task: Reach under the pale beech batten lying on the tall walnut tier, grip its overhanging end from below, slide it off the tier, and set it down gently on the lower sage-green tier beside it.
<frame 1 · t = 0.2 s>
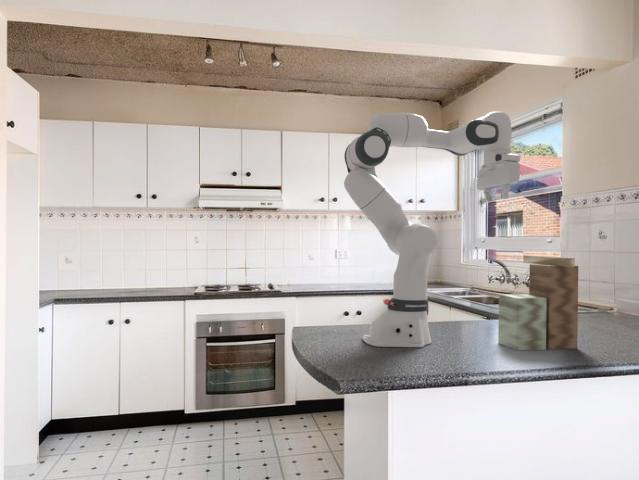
hand: (496, 200, 156), 48 cm above the counter, tool pointing down, fingers open, 8 cm apart
stand: (537, 345, 146), on the counter
batten: (547, 264, 150), point 26 cm above the counter, touching stand
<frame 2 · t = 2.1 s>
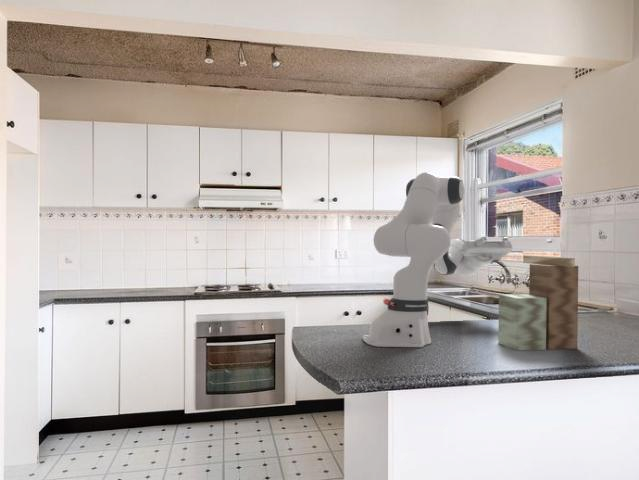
hand: (495, 238, 180), 35 cm above the counter, tool pointing upward, fingers open, 8 cm apart
nothing on the counter moved.
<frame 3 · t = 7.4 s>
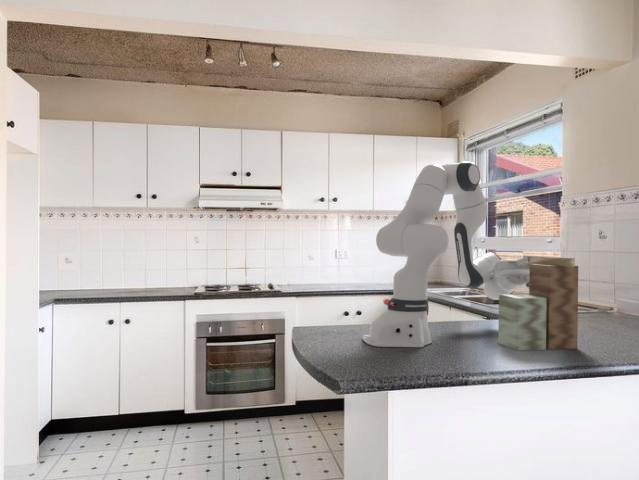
hand: (533, 258, 157), 28 cm above the counter, tool pointing upward, fingers closed on batten, 3 cm apart
batten: (547, 264, 150), point 26 cm above the counter, touching gripper, stand
when the fingers open (19 cm above the counter, at t = 18.8 s): batten drops 2 cm, resting on stand.
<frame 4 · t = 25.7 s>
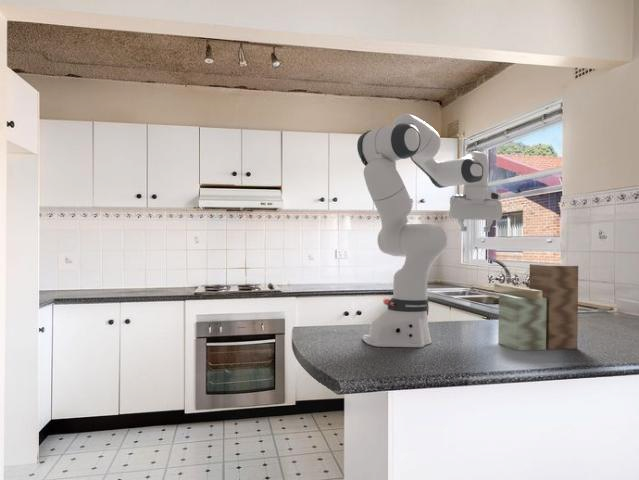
hand: (475, 231, 172), 37 cm above the counter, tool pointing down, fingers open, 8 cm apart
batten: (516, 295, 148), point 16 cm above the counter, touching stand
at the end: batten inside the target area (0.1 cm from its centre), point 16.0 cm above the counter; the gripper is holding nothing; batten tilted 0° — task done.
